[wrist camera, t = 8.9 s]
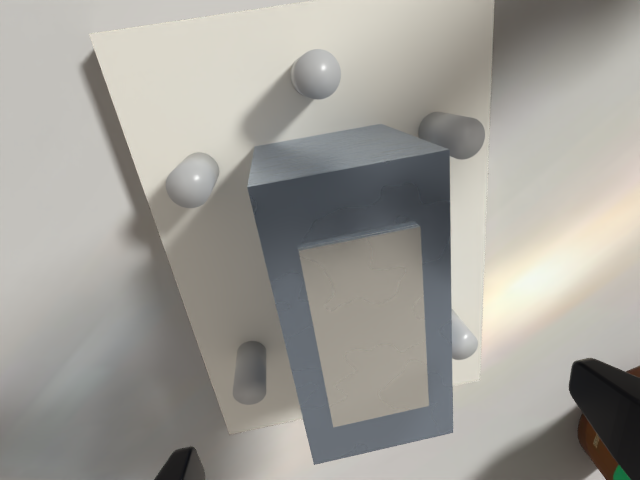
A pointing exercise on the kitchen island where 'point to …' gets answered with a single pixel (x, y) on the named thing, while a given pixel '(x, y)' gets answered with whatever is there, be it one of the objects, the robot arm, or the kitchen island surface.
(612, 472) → the food container
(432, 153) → the block
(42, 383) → the kitchen island surface
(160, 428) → the kitchen island surface
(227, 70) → the cream pegged board
